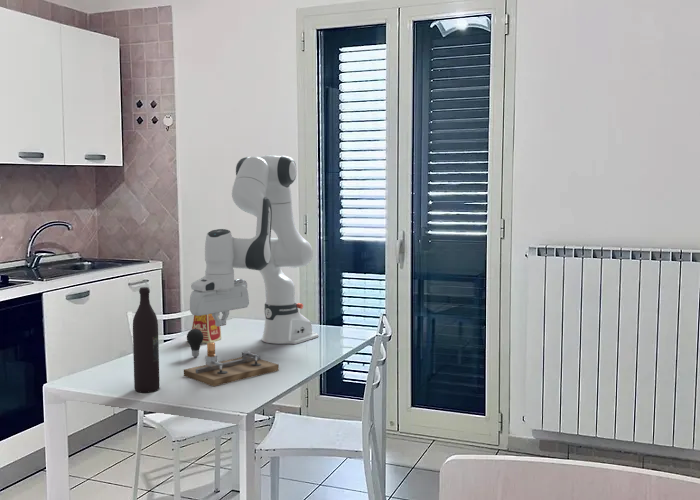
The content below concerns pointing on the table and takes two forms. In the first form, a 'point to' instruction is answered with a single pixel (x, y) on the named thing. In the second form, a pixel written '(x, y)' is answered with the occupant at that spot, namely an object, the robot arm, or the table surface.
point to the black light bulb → (195, 341)
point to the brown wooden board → (231, 372)
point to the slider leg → (212, 356)
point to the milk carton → (207, 328)
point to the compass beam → (232, 362)
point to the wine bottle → (145, 346)
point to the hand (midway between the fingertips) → (220, 325)
